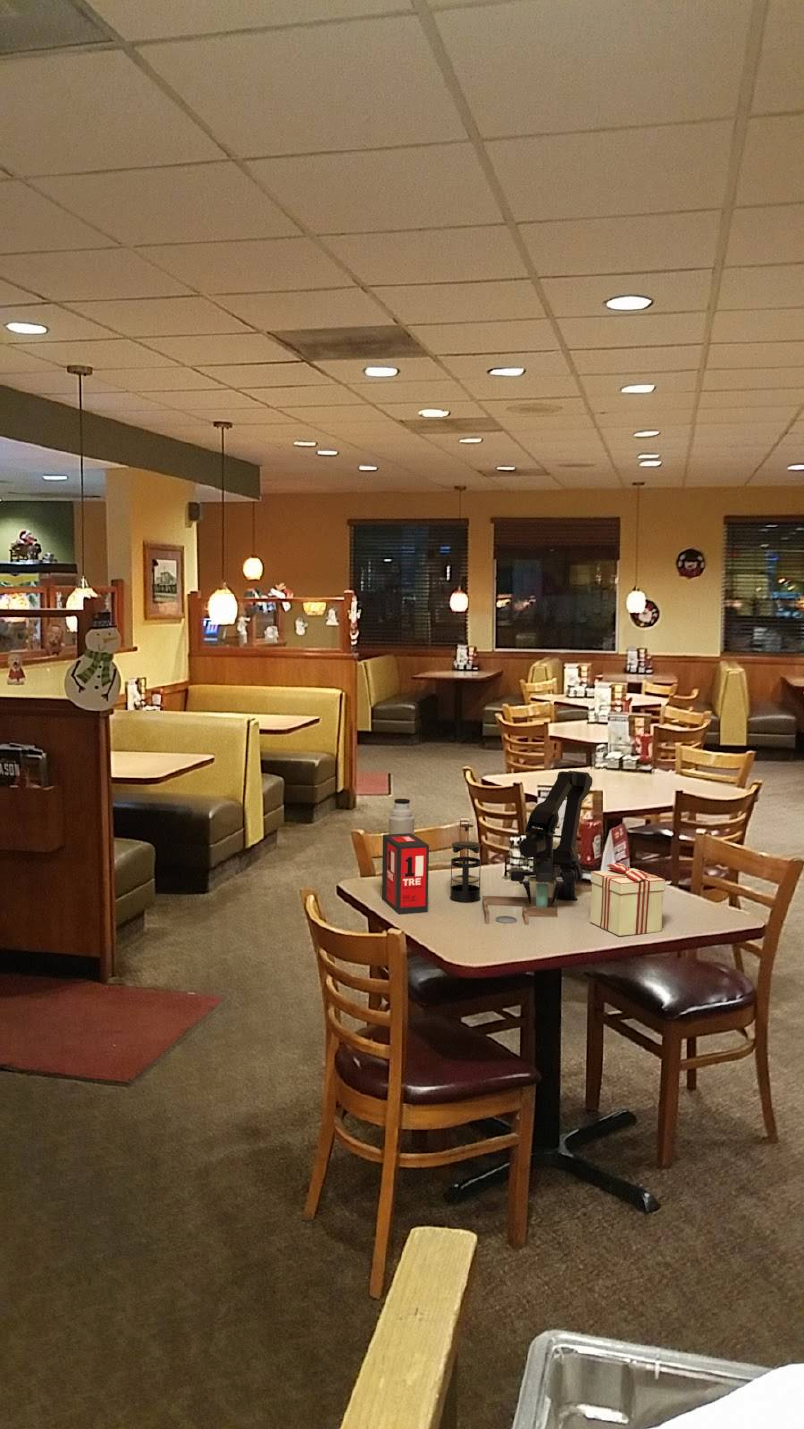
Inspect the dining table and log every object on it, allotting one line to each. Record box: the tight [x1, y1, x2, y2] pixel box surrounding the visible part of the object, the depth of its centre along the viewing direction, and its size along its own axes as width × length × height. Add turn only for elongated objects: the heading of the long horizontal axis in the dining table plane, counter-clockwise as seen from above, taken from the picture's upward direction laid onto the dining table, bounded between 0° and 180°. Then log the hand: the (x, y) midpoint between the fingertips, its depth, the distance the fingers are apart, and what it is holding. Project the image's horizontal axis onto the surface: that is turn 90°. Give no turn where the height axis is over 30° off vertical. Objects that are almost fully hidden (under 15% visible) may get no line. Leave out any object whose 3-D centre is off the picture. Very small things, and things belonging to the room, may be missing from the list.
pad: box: [495, 915, 518, 924], centre depth 314 cm, size 6×6×1 cm
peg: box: [534, 882, 549, 908], centre depth 323 cm, size 4×4×8 cm
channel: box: [481, 895, 558, 926], centre depth 320 cm, size 20×21×2 cm
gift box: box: [589, 862, 666, 937], centre depth 309 cm, size 17×18×17 cm
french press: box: [449, 823, 482, 904], centre depth 335 cm, size 12×9×23 cm
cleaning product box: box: [381, 833, 430, 915], centre depth 326 cm, size 16×9×20 cm, turn 18°
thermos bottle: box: [388, 798, 415, 836], centre depth 347 cm, size 8×8×28 cm
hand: (541, 903), depth 323 cm, fingers open, 6 cm apart
